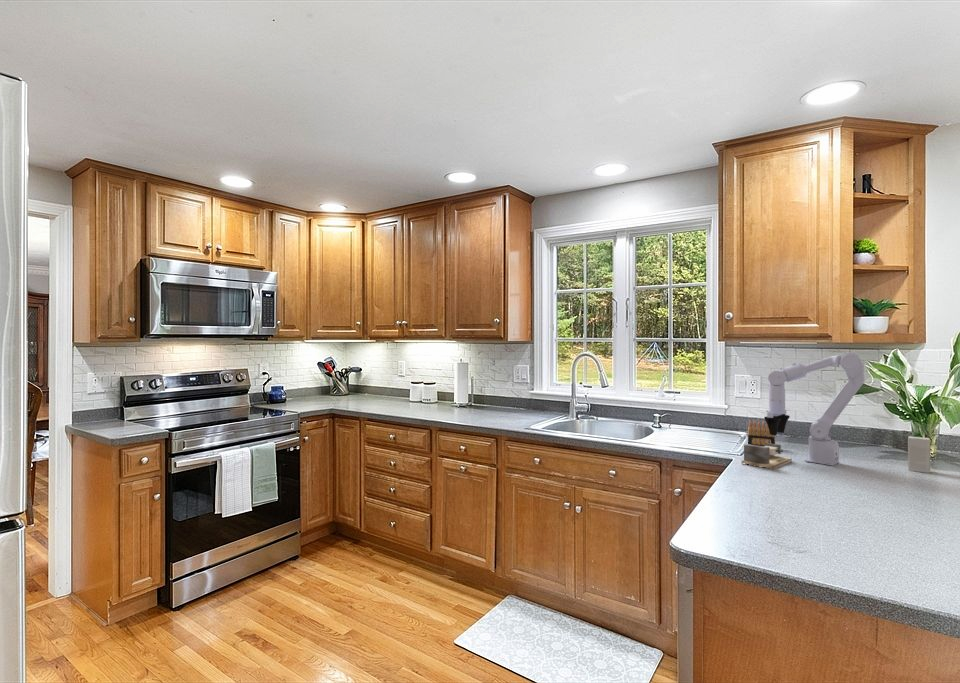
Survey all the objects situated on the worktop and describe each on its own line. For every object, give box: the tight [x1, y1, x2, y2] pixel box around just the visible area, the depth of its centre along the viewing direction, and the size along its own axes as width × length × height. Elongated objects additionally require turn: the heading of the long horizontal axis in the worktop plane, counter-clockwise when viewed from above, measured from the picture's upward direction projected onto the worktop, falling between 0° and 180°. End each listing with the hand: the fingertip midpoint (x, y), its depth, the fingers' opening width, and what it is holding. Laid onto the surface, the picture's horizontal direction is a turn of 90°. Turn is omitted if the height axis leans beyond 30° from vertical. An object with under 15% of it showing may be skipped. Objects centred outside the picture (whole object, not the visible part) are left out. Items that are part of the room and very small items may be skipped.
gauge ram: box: [764, 442, 784, 456], centre depth 203 cm, size 8×8×4 cm
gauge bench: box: [741, 443, 793, 470], centre depth 200 cm, size 11×19×7 cm, turn 130°
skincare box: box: [907, 435, 931, 474], centre depth 186 cm, size 6×4×12 cm
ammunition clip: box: [747, 419, 776, 446], centre depth 228 cm, size 11×2×12 cm, turn 56°
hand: (777, 433), depth 209 cm, fingers open, 7 cm apart
